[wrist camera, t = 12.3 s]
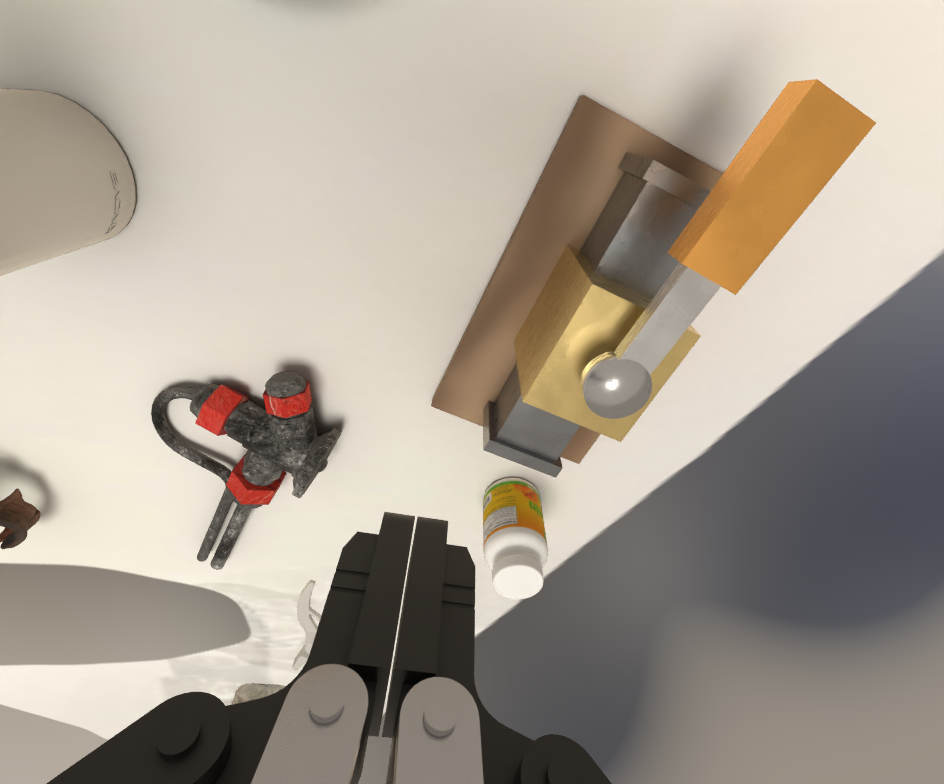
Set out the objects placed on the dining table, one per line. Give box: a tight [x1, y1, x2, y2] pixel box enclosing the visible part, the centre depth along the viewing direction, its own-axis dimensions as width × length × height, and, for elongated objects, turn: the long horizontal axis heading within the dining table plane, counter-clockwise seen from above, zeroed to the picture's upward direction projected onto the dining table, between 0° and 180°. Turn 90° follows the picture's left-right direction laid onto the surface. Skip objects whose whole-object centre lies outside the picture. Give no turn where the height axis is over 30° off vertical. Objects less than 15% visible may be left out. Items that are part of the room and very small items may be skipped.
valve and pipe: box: [483, 152, 711, 477], centre depth 32 cm, size 7×21×10 cm, turn 155°
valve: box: [151, 371, 341, 570], centre depth 43 cm, size 6×26×15 cm
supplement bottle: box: [483, 478, 548, 599], centre depth 42 cm, size 5×5×10 cm
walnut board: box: [431, 95, 723, 464], centre depth 36 cm, size 14×24×1 cm, turn 155°
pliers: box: [292, 580, 321, 670], centre depth 57 cm, size 10×2×15 cm
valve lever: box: [580, 79, 876, 419], centre depth 24 cm, size 17×4×2 cm, turn 153°
